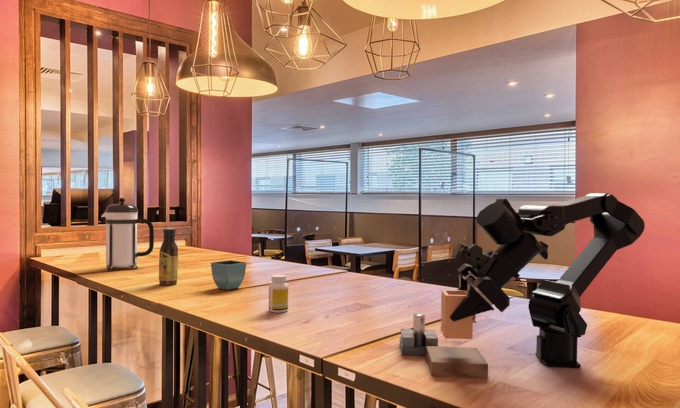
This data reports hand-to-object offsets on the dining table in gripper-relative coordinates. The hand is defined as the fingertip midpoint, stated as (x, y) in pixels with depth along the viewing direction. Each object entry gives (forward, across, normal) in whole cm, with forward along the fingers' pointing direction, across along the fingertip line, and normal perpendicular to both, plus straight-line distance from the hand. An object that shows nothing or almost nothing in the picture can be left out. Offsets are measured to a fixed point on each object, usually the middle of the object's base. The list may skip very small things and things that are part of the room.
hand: (449, 315), depth 89 cm
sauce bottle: (+68, -70, -54) cm, 112 cm away
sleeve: (+2, 0, +4) cm, 4 cm away
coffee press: (+92, -102, -78) cm, 157 cm away
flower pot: (+52, -66, -38) cm, 93 cm away
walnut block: (+6, 0, +8) cm, 10 cm away
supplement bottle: (+36, -38, -22) cm, 57 cm away
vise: (+10, -9, +4) cm, 14 cm away
